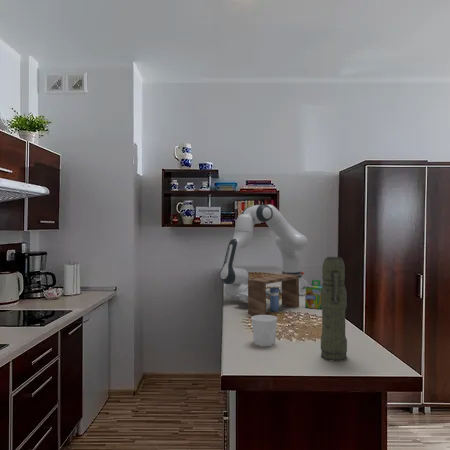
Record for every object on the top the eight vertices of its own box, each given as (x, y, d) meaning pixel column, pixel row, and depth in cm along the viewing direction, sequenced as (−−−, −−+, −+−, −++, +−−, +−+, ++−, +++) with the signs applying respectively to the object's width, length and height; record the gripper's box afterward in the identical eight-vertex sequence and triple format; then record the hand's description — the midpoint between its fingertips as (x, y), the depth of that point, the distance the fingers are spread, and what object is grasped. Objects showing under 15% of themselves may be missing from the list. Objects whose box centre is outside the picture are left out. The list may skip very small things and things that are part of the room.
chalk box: (305, 307, 212) (304, 280, 212) (309, 304, 220) (309, 278, 220) (322, 309, 208) (321, 281, 208) (326, 306, 216) (326, 279, 216)
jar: (273, 308, 210) (273, 286, 210) (280, 310, 207) (280, 287, 207) (267, 310, 207) (267, 287, 207) (275, 311, 203) (274, 288, 203)
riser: (284, 304, 221) (284, 273, 221) (299, 307, 214) (298, 275, 213) (248, 313, 200) (247, 279, 200) (262, 317, 193) (262, 281, 193)
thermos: (341, 350, 143) (341, 255, 143) (351, 362, 131) (351, 259, 131) (317, 350, 143) (316, 255, 143) (325, 362, 131) (325, 259, 131)
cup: (260, 337, 160) (260, 313, 160) (282, 342, 153) (281, 317, 153) (246, 343, 152) (246, 318, 152) (268, 349, 146) (267, 322, 146)
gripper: (234, 290, 214) (252, 293, 204) (259, 285, 228) (277, 288, 218) (234, 301, 214) (252, 305, 204) (259, 296, 228) (277, 299, 218)
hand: (265, 296), depth 211 cm, fingers open, 8 cm apart
